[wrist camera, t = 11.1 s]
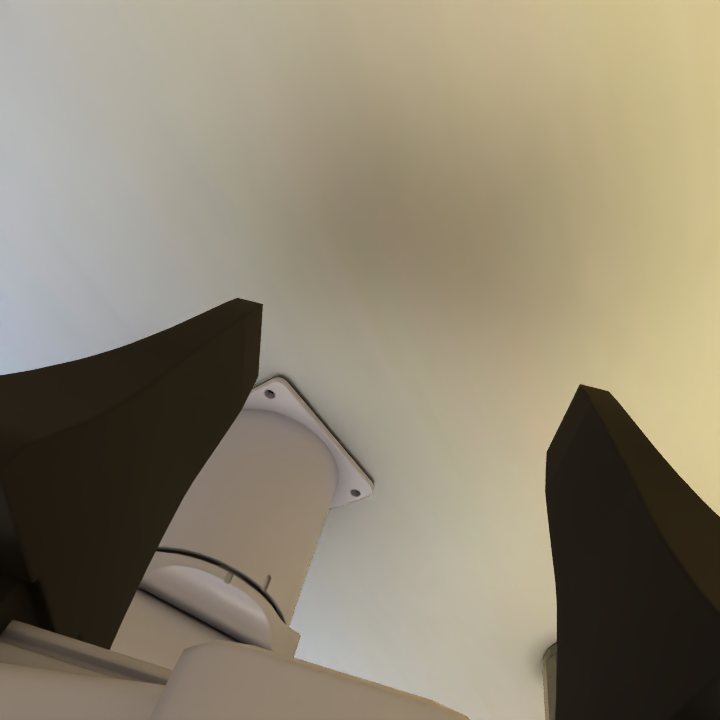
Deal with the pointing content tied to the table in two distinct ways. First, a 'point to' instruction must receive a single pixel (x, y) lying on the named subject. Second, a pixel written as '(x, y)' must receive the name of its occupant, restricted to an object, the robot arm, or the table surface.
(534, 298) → the table surface
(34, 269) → the table surface
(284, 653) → the robot arm
